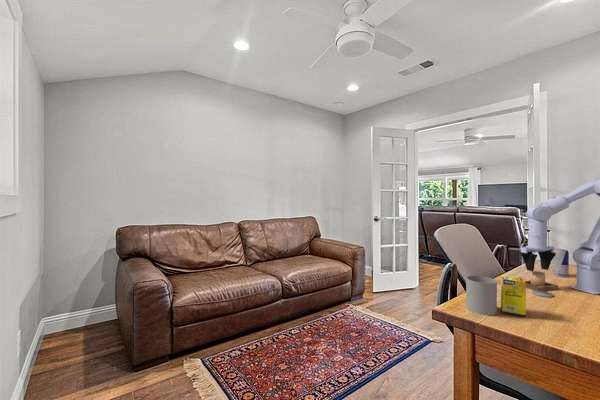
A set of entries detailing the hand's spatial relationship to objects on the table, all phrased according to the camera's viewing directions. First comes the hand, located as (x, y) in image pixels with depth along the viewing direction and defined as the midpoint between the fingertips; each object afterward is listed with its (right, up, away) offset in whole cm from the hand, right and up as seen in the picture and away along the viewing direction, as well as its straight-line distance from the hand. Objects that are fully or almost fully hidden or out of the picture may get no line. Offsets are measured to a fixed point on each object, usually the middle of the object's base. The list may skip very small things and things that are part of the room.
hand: (537, 270), depth 114 cm
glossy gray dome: (-5, -7, -8) cm, 12 cm away
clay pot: (0, -7, 0) cm, 7 cm away
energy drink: (+24, -7, +16) cm, 30 cm away
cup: (-37, -8, -22) cm, 44 cm away
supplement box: (-28, -8, -24) cm, 38 cm away
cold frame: (0, -7, 0) cm, 7 cm away
